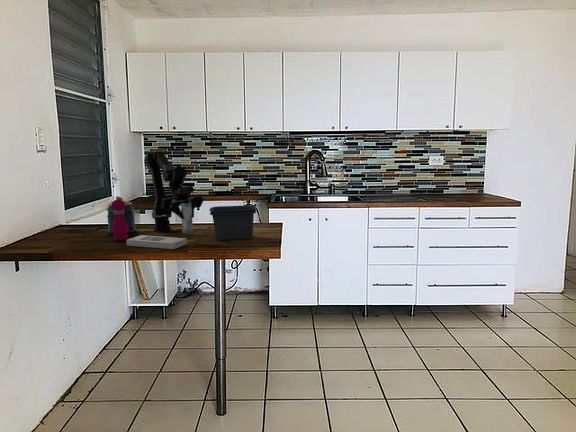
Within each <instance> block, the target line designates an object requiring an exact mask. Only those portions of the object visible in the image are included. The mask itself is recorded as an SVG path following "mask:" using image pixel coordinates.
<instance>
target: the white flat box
mask: <svg viewBox="0 0 576 432" xmlns="http://www.w3.org/2000/svg"><path fill="white" fill-rule="evenodd" d="M125 240H126V241H125V242H126V246H129V247H142V248H153V249H154V248H155V249H166V250H167V249H168V250H175V249H177V248H180V247H182V246H185V245H187V244H188V243H187V238H186V237H172V236H171V237H170V236H160V235H159V236H157V235H155V236H154V235H145V234H143V235H142V234H140V235H138V236H134V237H131V238H127V239H125Z"/></svg>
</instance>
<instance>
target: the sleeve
mask: <svg viewBox="0 0 576 432" xmlns="http://www.w3.org/2000/svg"><path fill="white" fill-rule="evenodd" d="M180 210H181V212H182V215H183V219H181V229H182V230H181V231H182V233H184V234H190V233H193V232H194V228H193V225H194V224H193V218H192V204H191V203H181V205H180Z"/></svg>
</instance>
